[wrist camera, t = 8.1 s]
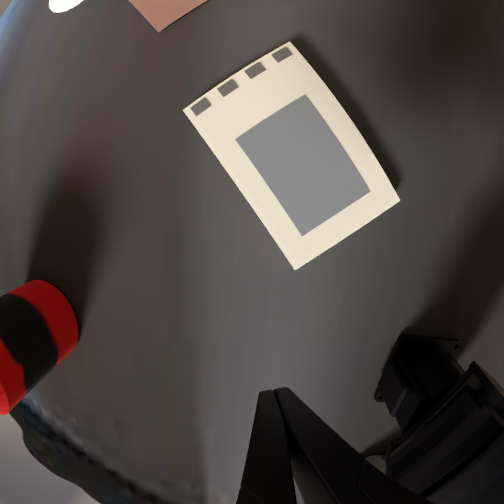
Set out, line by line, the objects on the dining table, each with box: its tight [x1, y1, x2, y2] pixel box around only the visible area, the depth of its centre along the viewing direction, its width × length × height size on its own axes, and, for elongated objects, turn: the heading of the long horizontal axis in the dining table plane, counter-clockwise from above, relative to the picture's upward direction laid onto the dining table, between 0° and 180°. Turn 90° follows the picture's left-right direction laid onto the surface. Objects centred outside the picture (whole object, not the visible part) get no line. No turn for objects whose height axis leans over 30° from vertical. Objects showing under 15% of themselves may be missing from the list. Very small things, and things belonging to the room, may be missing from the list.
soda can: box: [0, 280, 78, 415], centre depth 18 cm, size 8×8×12 cm
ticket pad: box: [183, 42, 400, 270], centre depth 18 cm, size 12×8×2 cm, turn 35°
